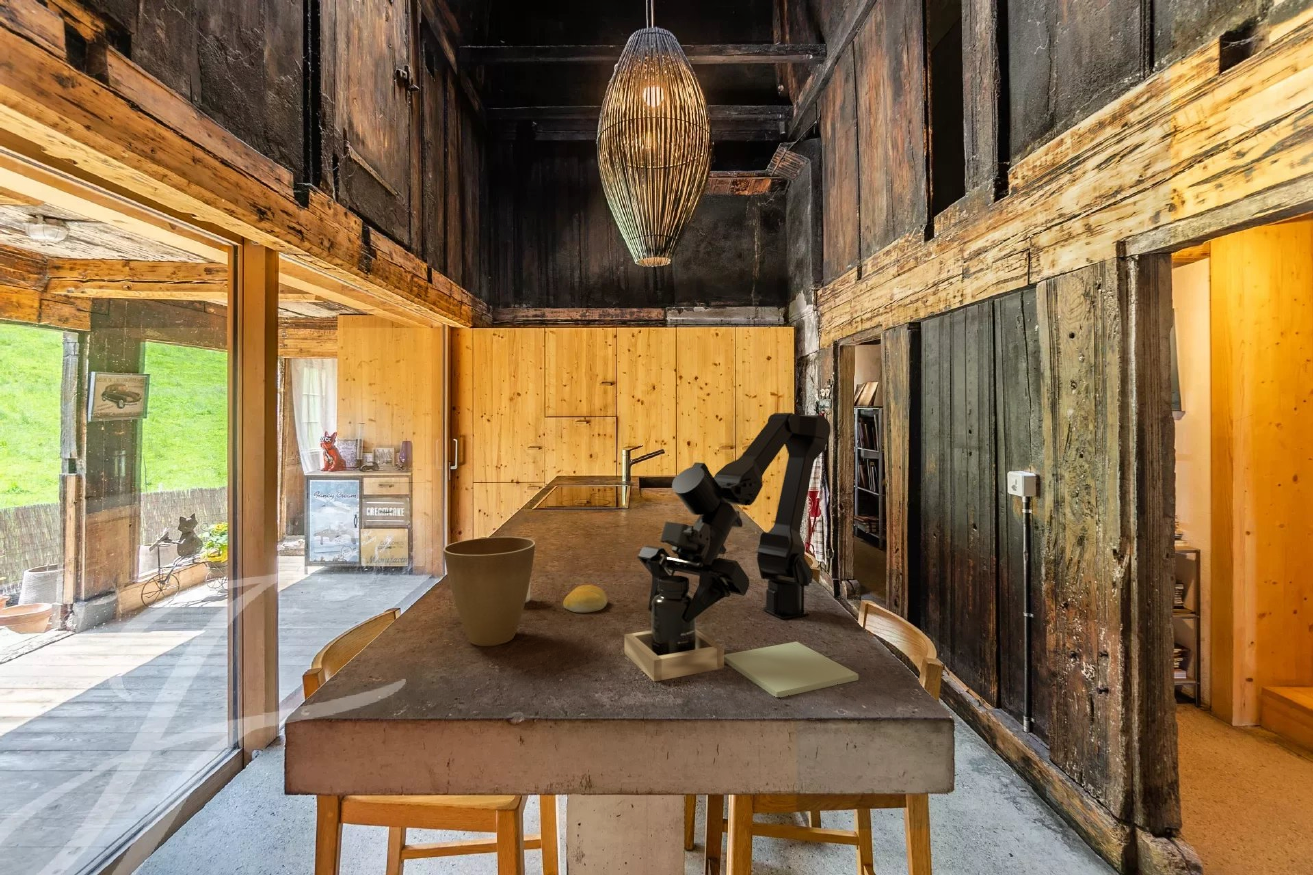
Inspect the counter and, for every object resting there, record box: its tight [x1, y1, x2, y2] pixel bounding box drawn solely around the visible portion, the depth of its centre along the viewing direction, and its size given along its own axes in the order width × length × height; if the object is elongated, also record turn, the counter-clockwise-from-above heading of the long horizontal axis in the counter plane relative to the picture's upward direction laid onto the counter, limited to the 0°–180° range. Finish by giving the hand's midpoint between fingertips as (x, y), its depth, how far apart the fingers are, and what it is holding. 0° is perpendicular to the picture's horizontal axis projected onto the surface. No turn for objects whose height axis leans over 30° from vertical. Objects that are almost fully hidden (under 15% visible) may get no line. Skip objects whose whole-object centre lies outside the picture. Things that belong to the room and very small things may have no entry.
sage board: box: [724, 641, 859, 698], centre depth 88 cm, size 14×14×1 cm
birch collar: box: [624, 629, 725, 682], centre depth 91 cm, size 11×11×3 cm
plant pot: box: [442, 536, 536, 647], centre depth 100 cm, size 15×15×16 cm
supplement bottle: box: [650, 574, 697, 656], centre depth 91 cm, size 7×7×12 cm
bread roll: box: [563, 584, 608, 614], centre depth 119 cm, size 8×9×4 cm
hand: (667, 615), depth 90 cm, fingers closed on supplement bottle, 7 cm apart
